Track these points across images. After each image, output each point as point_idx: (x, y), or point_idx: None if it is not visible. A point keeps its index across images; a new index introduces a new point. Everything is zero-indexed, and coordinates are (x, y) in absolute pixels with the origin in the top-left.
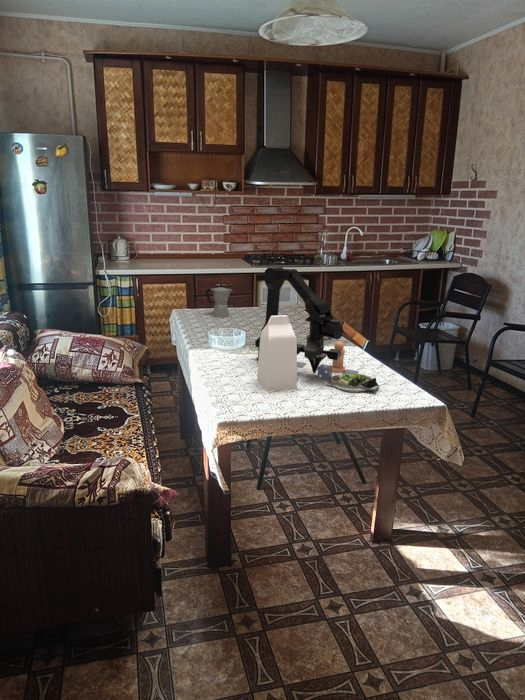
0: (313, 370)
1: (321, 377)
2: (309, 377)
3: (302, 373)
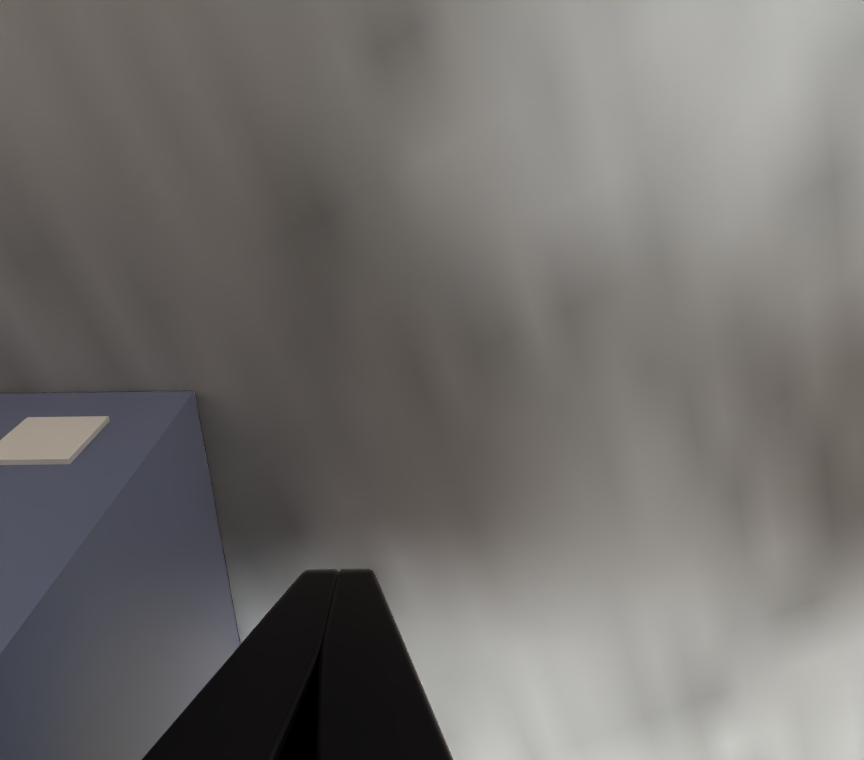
0: (350, 621)
1: (29, 417)
2: (445, 365)
3: (718, 569)
